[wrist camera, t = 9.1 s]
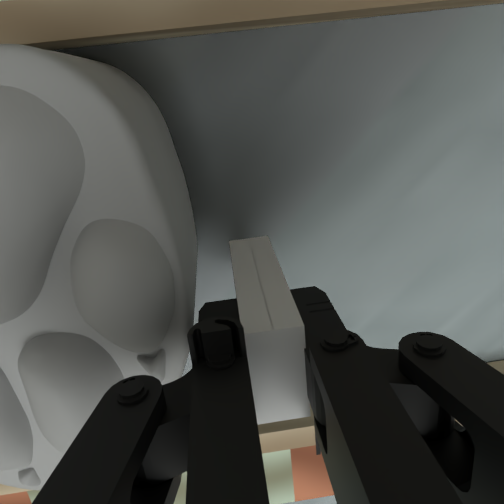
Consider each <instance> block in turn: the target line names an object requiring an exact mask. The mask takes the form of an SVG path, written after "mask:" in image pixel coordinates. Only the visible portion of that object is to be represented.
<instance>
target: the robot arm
mask: <svg viewBox="0 0 504 504" xmlns="http://www.w3.org/2000/svg"><path fill="white" fill-rule="evenodd" d="M229 245H230V253H231V260H232V268H233V275H234V283H235V290H236V299H229V300H221V301H214V302H207V303H205V304H204V305H203V307H202V308H201V309H200V311H199V319H198V321H199V323H196V324H195V325H194V326H193V327H192V328H190V329H189V332H188V334H187V339H188V344H189V349H190V355H191V360H192V369H191V370H190V371H189V372H188V373H187V374H186V375H184V376H183V377H181V378H179V379H177V380H175V381H172V382H170V383H167V384H164V385H162V384H161V382H160V380H159V379H157V378H155V377H154V376H149V375H137V376H131V377H128V378H126V379H123V380H121V381H119V382H117V383H116V384H114V385H113V386H111V387H110V389H109V390H108V391H107V392H106V393H105V394H104V396H103V397H102V399H101V400H100V402H99V403H98V405H97V406H96V408H95V409H94V411H93V412H92V414H91V415H90V417H89V418H88V420H87V421H86V423H85V424H84V426H83V427H82V429H81V430H80V432H79V433H78V435H77V436H76V438H75V439H74V441H73V442H72V444H71V445H70V447H69V448H68V450H67V451H66V453H65V454H64V456H63V457H62V459H61V460H60V462H59V463H58V465H57V466H56V468H55V469H54V471H53V472H52V474H51V475H50V477H49V478H48V480H47V481H46V483H45V484H44V486H43V487H42V489H41V490H40V492H39V493H38V495H37V496H36V498H35V499H34V501H33V502H32V504H174V501H175V498H176V495H177V492H178V489H179V486H180V483H181V476H182V473H184V472H186V471H187V484H186V504H270V503H269V497H268V490H267V483H266V477H265V470H264V464H263V457H262V451H261V444H260V437H259V431H258V425H259V424H265V423H271V422H278V421H284V420H291V419H297V418H303V417H310V416H311V414H310V405H311V408H312V411H313V414H314V427H315V442H316V455H320V454H321V453H322V456H323V460H324V463H325V466H326V469H327V472H328V476H329V479H330V482H331V485H332V489H333V492H334V495H335V498H336V501H337V504H504V374H502V373H501V372H499V371H498V370H496V369H495V368H493V367H492V366H490V365H489V364H487V363H486V362H484V361H483V360H481V359H480V358H478V357H477V356H475V355H474V354H472V353H471V352H469V351H468V350H466V349H465V348H463V347H462V346H460V345H459V344H457V343H456V342H454V341H453V340H451V339H449V338H447V337H445V336H443V335H439V334H435V333H431V332H417V333H411V334H408V335H406V336H405V337H403V338H402V339H401V340H400V342H399V350H397V349H381V348H373V347H369V346H366V344H365V343H364V341H363V339H362V338H360V337H359V336H358V335H357V334H356V333H353V332H351V331H349V330H347V329H346V328H345V326H344V324H343V323H342V321H341V319H340V317H339V316H338V314H337V312H336V310H334V307H333V305H332V303H330V300H329V298H328V296H327V295H326V293H325V292H323V291H322V290H320V289H318V288H317V287H315V286H313V287H306V288H299V289H291V290H290V289H289V287H288V284H287V282H286V279H285V277H284V275H283V272H282V270H281V267H280V265H279V262H278V260H277V257H276V255H275V252H274V250H273V248H272V245H271V243H270V240H269V238H268V236H262V237H254V238H247V239H239V240H232V241H229ZM455 419H456V420H457V421H458V422H459V423H460V424H461V425H460V424H459V423H458V422H457V421H456V420H455Z"/></svg>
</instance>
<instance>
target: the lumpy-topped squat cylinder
mask: <svg viewBox="0 0 504 504" xmlns="http://www.w3.org/2000/svg"><path fill="white" fill-rule="evenodd" d="M197 252H198V248H197V236H196V228H195V222H194V216H193V211H192V206H191V201H190V197H189V192H188V188H187V184H186V180H185V177H184V173H183V170H182V167H181V164H180V161H179V158H178V156H177V153H176V150H175V147H174V144H173V141H172V138H171V135H170V132H169V129H168V127H167V124H166V122H165V120H164V118H163V116H162V114H161V112H160V110H159V108H158V107H157V105H156V103H155V102H154V101H153V99H152V98H151V96H150V95H149V94H148V93H147V92H146V91H145V89H144V88H143V87H142V86H141V85H140V84H139V83H137V82H136V81H135V80H134V79H133V78H131V77H130V76H129V75H127V74H126V73H124V72H123V71H121V70H120V69H118V68H116V67H114V66H111V65H109V64H106V63H103V62H99V61H95V60H90V59H86V58H82V57H78V56H73V55H69V54H65V53H61V52H56V51H51V50H43V49H40V48H36V47H32V46H27V45H20V44H0V484H3V485H7V486H12V487H16V488H22V489H28V490H41V489H42V487H43V486H44V484H45V483H46V481H47V480H48V478H49V477H50V475H51V474H52V472H53V471H54V469H55V468H56V466H57V465H58V463H59V462H60V460H61V459H62V457H63V456H64V454H65V453H66V451H67V450H68V448H69V447H70V445H71V444H72V442H73V441H74V439H75V438H76V436H77V435H78V433H79V432H80V430H81V429H82V427H83V426H84V424H85V423H86V421H87V420H88V418H89V417H90V415H91V414H92V412H93V411H94V409H95V408H96V406H97V405H98V403H99V402H100V400H101V399H102V397H103V396H104V394H105V393H106V392H107V391H108V390H109V389H110V387H111V386H113V385H114V384H116V383H117V382H119V381H121V380H123V379H126V378H128V377H131V376H137V375H149V376H154V377H155V378H157V379H159V380H160V382H161V384H162V385H164V384H167V383H170V382H172V381H175V380H177V379H179V378H181V376H182V374H183V371H184V368H185V364H186V361H187V358H188V354H189V350H190V349H189V344H188V339H187V334H188V332H189V329H190V328H192V327H193V324H194V307H195V289H196V271H197Z"/></svg>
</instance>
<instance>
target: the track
mask: <svg viewBox="0 0 504 504" xmlns="http://www.w3.org/2000/svg"><path fill="white" fill-rule="evenodd" d="M499 3H504V0H0V44H20V45H27V46H32V47H36V48H40V49H43V50H59V49H68V48H78V47H88V46H97V45H107V44H116V43H126V42H135V41H145V40H155V39H164V38H174V37H183V36H193V35H202V34H212V33H221V32H231V31H241V30H250V29H260V28H269V27H279V26H288V25H298V24H308V23H317V22H327V21H336V20H346V19H355V18H365V17H374V16H384V15H394V14H403V13H413V12H422V11H432V10H441V9H451V8H461V7H470V6H480V5H489V4H499ZM487 364H489V365H490V366H492V367H493V368H495V369H496V370H498V371H499V372H501V373H502V374H504V360H501V361H494V362H488V363H487ZM310 414H311V416H310V417H303V418H297V419H291V420H284V421H278V422H271V423H265V424H259V425H258V431H259V437H260V444H261V451H262V457H263V464H264V470H265V477H266V483H267V490H268V497H269V503H270V504H283V503H289V502H295V501H301V500H307V499H313V498H319V497H325V496H331V495H334V492H333V489H332V485H331V482H330V479H329V476H328V472H327V469H326V466H325V463H324V460H323V456H322V453H321V454H320V455H316V442H315V427H314V414H313V411H312V408H311V405H310ZM455 420H456V419H455ZM456 421H457V420H456ZM457 422H458V421H457ZM458 423H459V422H458ZM459 424H460V423H459ZM460 425H461V424H460ZM186 484H187V471H186V472H184V473H182V476H181V483H180V486H179V489H178V492H177V495H176V498H175V501H174V504H186ZM39 492H40V490H28V489H22V488H16V487H12V486H7V485H3V484H0V504H32V502H33V501H34V499H35V498H36V496H37V495H38V493H39Z"/></svg>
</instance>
